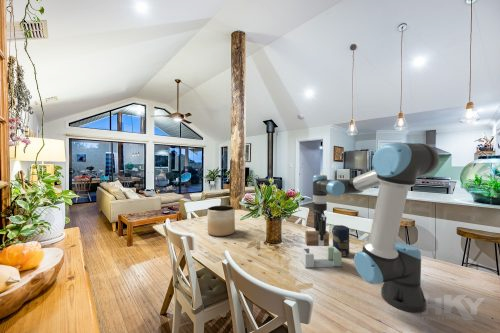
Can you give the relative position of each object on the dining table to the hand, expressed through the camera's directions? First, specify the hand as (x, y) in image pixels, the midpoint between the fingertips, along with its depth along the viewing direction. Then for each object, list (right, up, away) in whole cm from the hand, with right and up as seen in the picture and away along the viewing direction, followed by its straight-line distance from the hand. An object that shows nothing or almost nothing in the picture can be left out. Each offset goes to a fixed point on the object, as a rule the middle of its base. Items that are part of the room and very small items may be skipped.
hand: (319, 243), depth 122 cm
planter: (-62, -11, +55) cm, 84 cm away
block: (-1, 0, 0) cm, 1 cm away
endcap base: (+1, -11, 0) cm, 11 cm away
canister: (+17, -11, +13) cm, 24 cm away
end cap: (+8, -10, 0) cm, 13 cm away
